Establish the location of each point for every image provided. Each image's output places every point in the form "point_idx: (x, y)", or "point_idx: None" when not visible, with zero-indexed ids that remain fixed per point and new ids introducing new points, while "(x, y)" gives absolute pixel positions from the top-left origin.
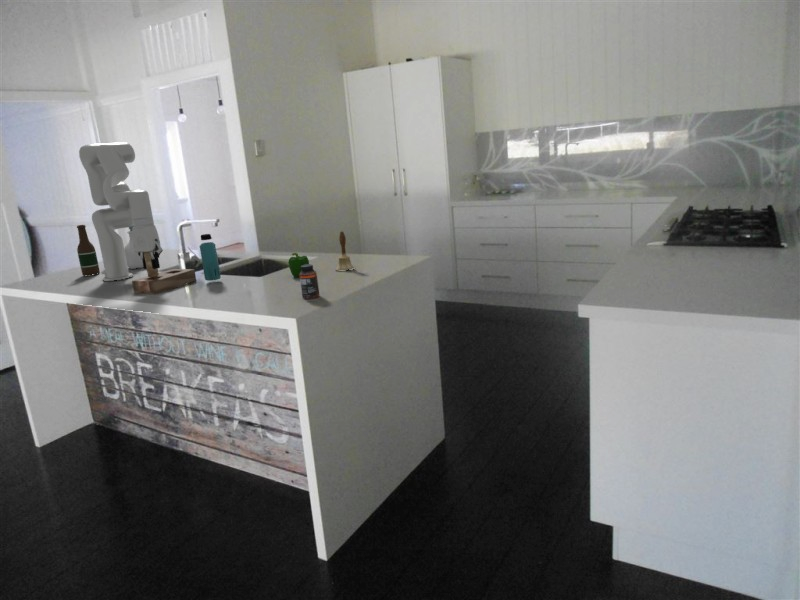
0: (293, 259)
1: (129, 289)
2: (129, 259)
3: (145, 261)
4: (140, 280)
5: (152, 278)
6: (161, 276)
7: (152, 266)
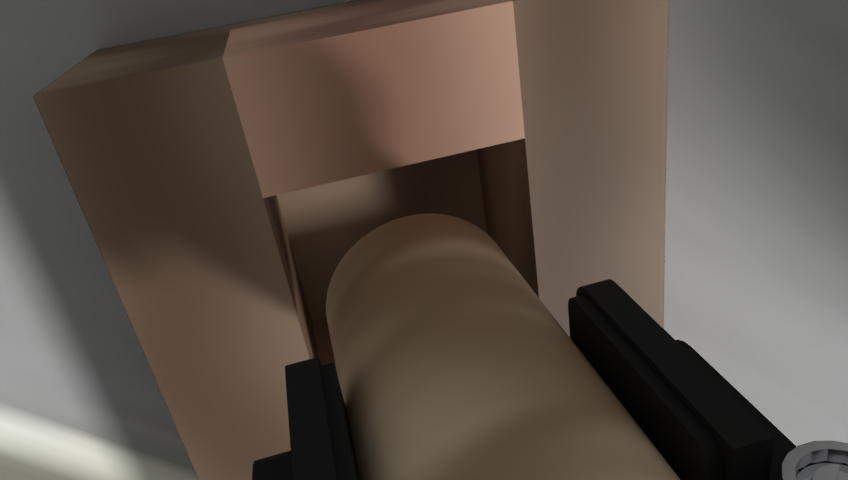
0: None
1: (823, 92)
2: None
3: (593, 422)
4: (502, 58)
5: None
6: None
7: (322, 395)
